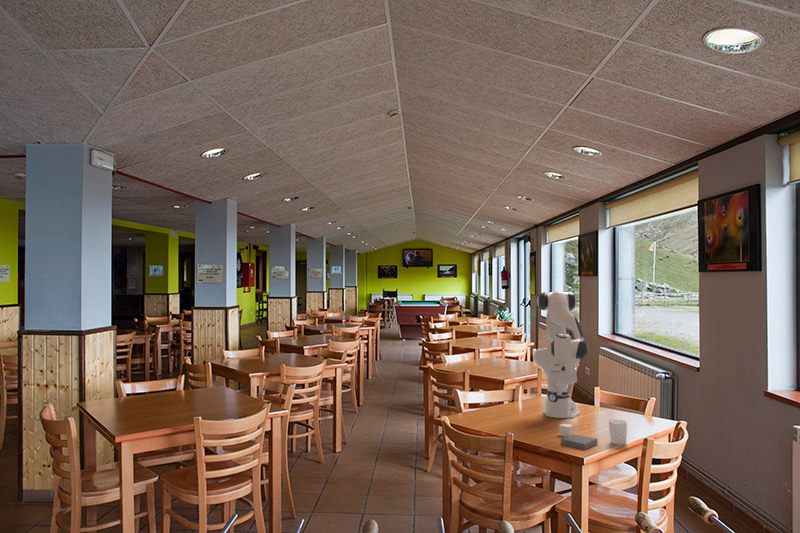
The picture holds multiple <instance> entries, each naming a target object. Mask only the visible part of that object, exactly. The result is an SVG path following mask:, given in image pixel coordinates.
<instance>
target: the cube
mask: <svg viewBox="0 0 800 533" xmlns="http://www.w3.org/2000/svg"><path fill="white" fill-rule="evenodd" d="M558 428H559V429H558V430H559V431H558V432H559V433H558V434H559V436H561V437H567V436H570V435H572V434H575V432H574V428H575V427H574V424H568V423H561V424H559V426H558Z"/></svg>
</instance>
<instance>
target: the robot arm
mask: <svg viewBox="0 0 800 533" xmlns="http://www.w3.org/2000/svg"><path fill="white" fill-rule="evenodd" d="M536 305H537V307H538V309H539V310H542V311H547V312H546V316H545V317H546V319H545V323H546V324H545V325H546V326H545V331H546V334H545V335H546V338H547V339H548V340H549V341H551V343H550V347H540V348H536V350H535V352H534V353H533V360H534V362H535V364H536V365H537V366H538V367H540V368H541V369H542V370H543V372H544V374H545V376H546V381H547V382H546V383H547V390H546V396H547V398H545V407H544V410H543V414H544V415H545V416H546V417H549V418H556V419H573V418H576V417H577V416H579V415H580V414H581V411H580V410H577V405H576V402H575V401H573V399H572V398H570V395H572V393H573V392H572V389H573V385H574V384H576V383H577V382H578V376H577V375H578V374H577V369H575V367H577V366H578V365H579V364H580V362H581V360H583V359H585V358H586V357H587V356H588V355H589V347H588V346H589V345H588V344H587V341H586V339H585V336H584V334H583V332H582V328H581V325H580V322H579V319H578V318H577V316H576V315H574V314H573V313H572V312H571V311H573V310H574V309H575V308H576V305H577V298H576V295H575V294H574V293H573V292H569V291H568V292H566V291H565V292H564V291H552V292H550V291H549V292H540V293H539V294H538V295H537V297H536ZM566 328H567V329H570V330H571V331H572V333H573V336H574V339H572V336H571V335H570V334H568V333H567V330H566Z"/></svg>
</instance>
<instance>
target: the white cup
mask: <svg viewBox="0 0 800 533" xmlns="http://www.w3.org/2000/svg"><path fill="white" fill-rule="evenodd" d="M608 426H609V438H610V443H611V444H614V445H617V446H624V445H626V444H627V437H628V433H627V432H628V429H627V428H628V422H627V421H626V420H623V419H609V420H608Z"/></svg>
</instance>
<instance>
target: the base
mask: <svg viewBox="0 0 800 533" xmlns="http://www.w3.org/2000/svg"><path fill="white" fill-rule="evenodd" d="M560 444H561V445H563V446H567V447H572V448H576V449H580V450H588V449H590V448H592V447H594V446H597V445H598V438H595V437H590V436H585V435H580V434H576V433H574V434H572V435H570V436H567V437H566V436H563V437H562V438H561V439H560Z"/></svg>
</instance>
